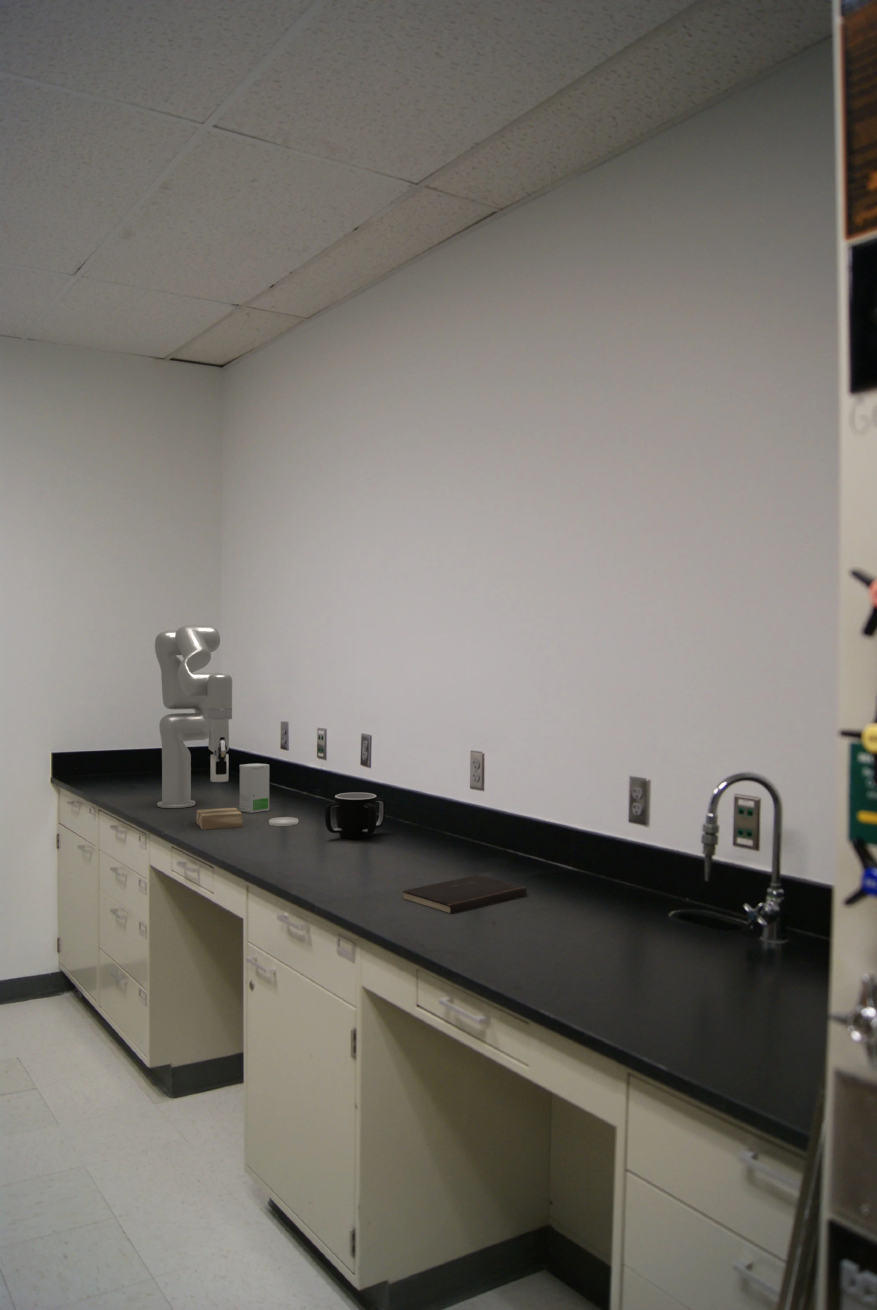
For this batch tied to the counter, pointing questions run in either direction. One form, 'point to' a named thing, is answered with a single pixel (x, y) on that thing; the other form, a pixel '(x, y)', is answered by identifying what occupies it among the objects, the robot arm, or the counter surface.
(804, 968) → the counter surface
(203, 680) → the robot arm
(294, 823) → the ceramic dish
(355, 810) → the mug
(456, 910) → the hardcover book
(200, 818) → the oak slab
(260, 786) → the skincare box
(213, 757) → the reagent bottle
